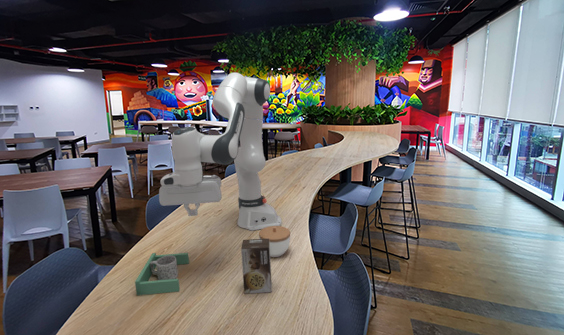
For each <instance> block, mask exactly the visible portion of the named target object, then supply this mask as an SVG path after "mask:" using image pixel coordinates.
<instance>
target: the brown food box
mask: <svg viewBox="0 0 564 335" xmlns="http://www.w3.org/2000/svg"><path fill="white" fill-rule="evenodd" d="M240 247H241V248H240V252H241V267H242V277H243V278H242V279H243V293H244V294H256V293H257V294H259V293H260V294H261V293H262V294H263V293H272V290H273V287H272V286H273V285H272V266H271V265H272V264H271V262H272V261H271V257H270V241H269V238H268V239H260V238H251V239H250V238H249V239H242V243H241V246H240Z"/></svg>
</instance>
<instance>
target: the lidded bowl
mask: <svg viewBox="0 0 564 335" xmlns="http://www.w3.org/2000/svg"><path fill="white" fill-rule="evenodd" d="M258 237H259V238H258V239H268V238H269V241H270V258H279V257H282V256H283V255H284V253H286V251H287V250H288V248H289V246H290V241H291V231H290V229H289V228H287V227H285V226H281V225H280V226H269V227H266V228H263V229H259V232H258Z"/></svg>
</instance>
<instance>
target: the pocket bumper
mask: <svg viewBox="0 0 564 335" xmlns="http://www.w3.org/2000/svg"><path fill="white" fill-rule="evenodd" d="M164 256H175V257H176V262H177V266H178V265H187V264H189V263H190V259H189V256H190V255H189V252H183V253H182V252H179V253H170V254H169V253H167V254H166V253H165V254H157V253H156V252H152V254H151V255H150V257H149V259H148V260H147V261H146V263H145V265H143V266H144V267H143V268H142V270H141V271H140V273H139V274H138V276H137V277H136V279H135V281H134V286H135V291H136V292H135V293H136V296H145V295H146V296H147V295H156V294H165V293H175V292H176V293H177V292H178V293H179V292H180V290H181V289H180V281H179V278H176V279H168V280H158V279H157V280H150V279H151V277H152V276H153V273H152V272H151V269H150V263H151V262H152V261H157V260H158V259H159V258H161V257H164ZM153 267H154V270H155V269H157V267H156V265H155V264H153ZM155 271H156V270H155Z"/></svg>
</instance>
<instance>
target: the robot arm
mask: <svg viewBox="0 0 564 335" xmlns="http://www.w3.org/2000/svg"><path fill="white" fill-rule="evenodd" d="M270 95H271V87H270V83H269V82H268V81H267V80H266V79H264V78H255V77H250V76H246V77H245V76H244V75H243V74H241V73H240V72H230V73H229V74H227V75H226V77H225V78H224V79H223V80H222V81H221V83H220V84H219V85H218V87H217V89H216V91H215V92H214V95H213V98H212V105H213V108H214V110H215V111H216V113H218V114H219V115H220V116H221V117H223V118H225V119H228V121H227V125H226V128H225V132H223V133H222V134H219V135H215V134H213V135H212V134H210V135H209V134H204V133H201V132H199V131H198V130H197V128H196V127H195V126H186V127H185V126H184V127H180V128H177V129H175V130H174V131H173V133H172V136H171V152H172V158H173V160H174V169H173V170H174V171H173V172H171V173H168V174H167V173H166V175H164V176H162V178H161V179H160V185H161V186H160V188H159V189H158V190H159V191H158V194H159V195H158V199H159V205H161V206H162V207H163V206H164V207H165V206H178V205H183V208H184V209H185V210H186V212H187V215H188V217H194V216H198V209H199V207H200V205H201V204H206V203H207V204H209V203H210V204H211V203H219V202H220V201H222V190H221V187H222V178H221V177H219V176H218V175H216V174H213V175H203V166H202V163H212V164H219V165H224V166H228V165H231V164H232V163H233V162H234V169H235V173H236V177H237V183H238V198H237V203H238V211H239V212H238V219H237V223H236V224H237V226H238V227H240V228H242V229H247V231H257V230H259V231H260V230H262V229H263V228H266V227H269V226H281V225H282V222H283V221H282V218H281V217H280V215H278V213H277V211H276V209H275V208H274V207H273V206H272V205H271V204H269V203H268V202H267V201H268V200H267V198H266V197H265V196H264V195H262V186H261V182H262V181H261V178H260V176H259V172H261V171H262V170H263V169H264V168H265V166H266V157H265V154H264V146H263V139H262V138H263V136H262V134H263V123H264V122H263V121H264V107H263V106H264V104H265V103H267V101H268V100H269V99H270ZM239 143H240V146H239ZM190 205H194V206H195V209H193V208H192V209H191V208H190V207H189V206H190Z"/></svg>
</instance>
